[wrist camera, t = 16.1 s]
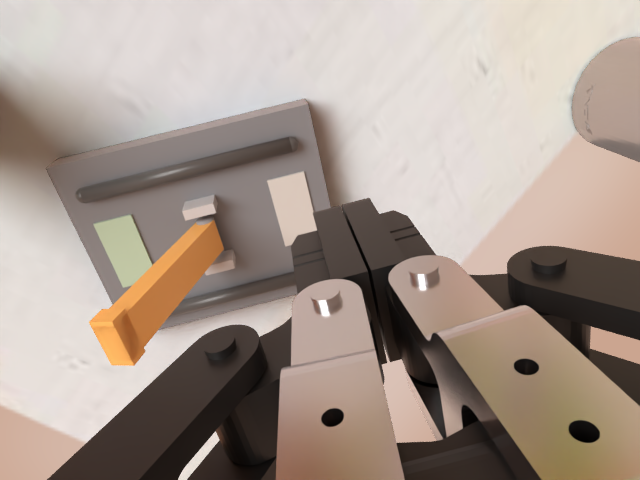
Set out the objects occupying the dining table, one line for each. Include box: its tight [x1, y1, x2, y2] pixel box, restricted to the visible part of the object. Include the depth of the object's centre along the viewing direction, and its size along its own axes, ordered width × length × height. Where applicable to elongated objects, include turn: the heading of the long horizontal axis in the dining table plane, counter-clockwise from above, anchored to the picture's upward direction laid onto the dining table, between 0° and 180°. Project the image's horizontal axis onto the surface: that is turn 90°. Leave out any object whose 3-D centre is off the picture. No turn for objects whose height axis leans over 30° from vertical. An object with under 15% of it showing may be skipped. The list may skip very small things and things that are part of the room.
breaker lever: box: [89, 215, 224, 366], centre depth 33 cm, size 2×3×14 cm, turn 12°
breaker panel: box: [46, 99, 331, 330], centre depth 39 cm, size 20×16×4 cm
